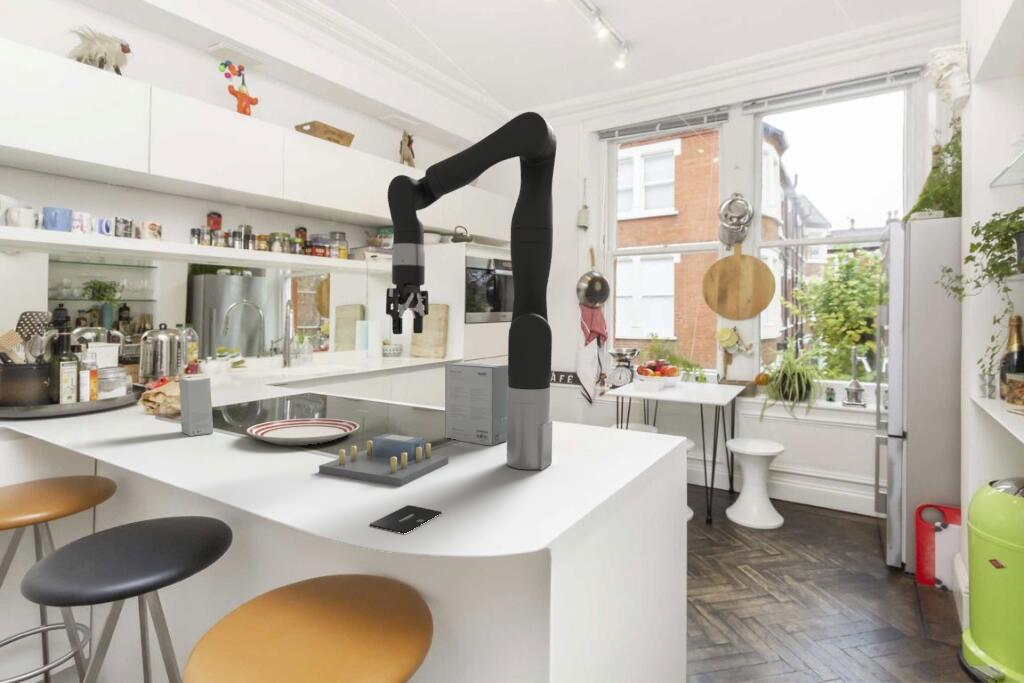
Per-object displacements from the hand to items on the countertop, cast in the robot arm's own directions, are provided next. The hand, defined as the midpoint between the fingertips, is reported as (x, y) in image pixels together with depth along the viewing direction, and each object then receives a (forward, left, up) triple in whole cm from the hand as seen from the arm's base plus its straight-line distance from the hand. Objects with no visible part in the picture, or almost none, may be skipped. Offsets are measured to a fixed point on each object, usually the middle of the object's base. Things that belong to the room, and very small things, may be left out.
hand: (408, 333), depth 131 cm
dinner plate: (+32, 0, -28) cm, 43 cm away
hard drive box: (-9, -18, -28) cm, 35 cm away
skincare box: (+61, +9, -28) cm, 68 cm away
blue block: (-4, +9, -27) cm, 28 cm away
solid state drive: (-25, +37, -29) cm, 53 cm away
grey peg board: (-4, +14, -28) cm, 32 cm away
